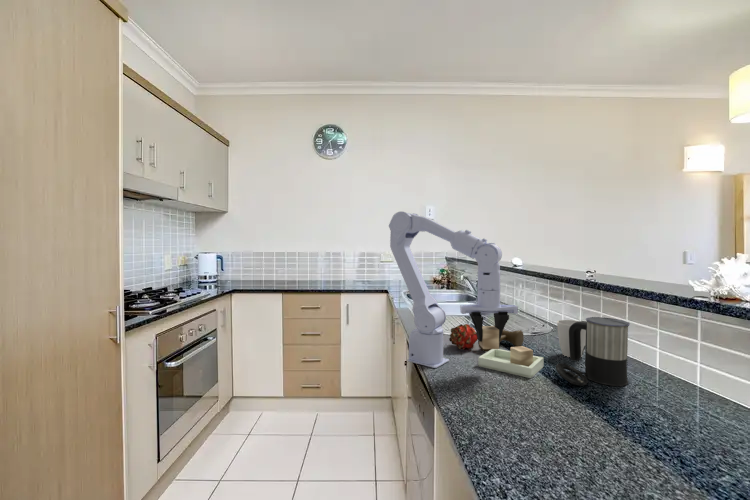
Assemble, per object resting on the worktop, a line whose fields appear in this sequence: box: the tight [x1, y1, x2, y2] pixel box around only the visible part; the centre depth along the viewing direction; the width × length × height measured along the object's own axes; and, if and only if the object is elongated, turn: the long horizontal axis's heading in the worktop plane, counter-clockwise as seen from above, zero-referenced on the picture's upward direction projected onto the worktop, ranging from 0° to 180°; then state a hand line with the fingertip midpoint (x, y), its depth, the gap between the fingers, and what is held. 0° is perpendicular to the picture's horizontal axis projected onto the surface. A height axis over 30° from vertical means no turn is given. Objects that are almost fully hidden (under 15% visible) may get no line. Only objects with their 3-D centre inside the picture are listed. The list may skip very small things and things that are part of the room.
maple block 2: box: [509, 345, 534, 367], centre depth 95 cm, size 4×4×5 cm
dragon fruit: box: [448, 323, 478, 351], centre depth 115 cm, size 8×8×12 cm
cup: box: [556, 319, 586, 358], centre depth 107 cm, size 8×8×10 cm
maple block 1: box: [478, 325, 500, 349], centre depth 93 cm, size 4×4×5 cm
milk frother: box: [555, 316, 631, 387], centre depth 88 cm, size 14×16×15 cm
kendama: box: [477, 324, 525, 353], centre depth 118 cm, size 6×10×20 cm
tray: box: [477, 348, 545, 379], centre depth 98 cm, size 14×11×2 cm
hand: (488, 340), depth 93 cm, fingers closed on maple block 1, 4 cm apart
